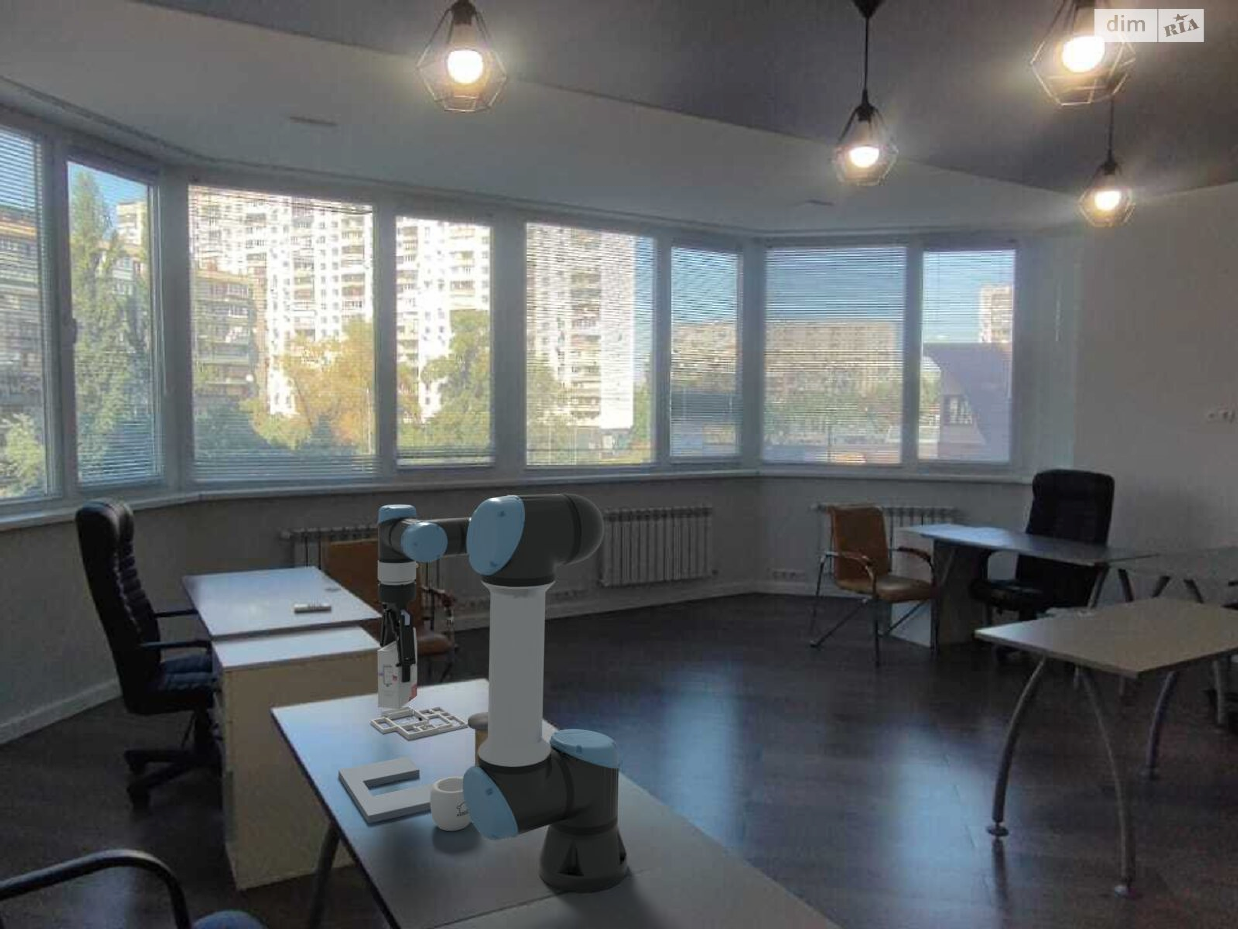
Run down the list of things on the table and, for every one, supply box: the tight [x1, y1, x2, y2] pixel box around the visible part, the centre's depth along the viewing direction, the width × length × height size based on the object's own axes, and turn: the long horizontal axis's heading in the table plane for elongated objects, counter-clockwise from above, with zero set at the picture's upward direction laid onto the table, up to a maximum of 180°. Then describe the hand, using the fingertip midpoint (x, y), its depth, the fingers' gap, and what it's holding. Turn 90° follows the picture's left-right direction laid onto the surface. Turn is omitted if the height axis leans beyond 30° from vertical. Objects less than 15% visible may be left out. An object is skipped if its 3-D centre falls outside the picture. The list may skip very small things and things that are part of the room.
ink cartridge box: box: [376, 627, 418, 709], centre depth 176 cm, size 9×5×15 cm, turn 168°
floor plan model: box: [370, 705, 469, 741], centre depth 213 cm, size 19×25×2 cm
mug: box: [430, 776, 472, 832], centre depth 163 cm, size 12×8×8 cm
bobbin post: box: [467, 711, 488, 766], centre depth 178 cm, size 10×10×14 cm
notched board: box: [338, 756, 434, 824], centre depth 176 cm, size 24×15×2 cm, turn 31°
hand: (397, 690), depth 176 cm, fingers closed on ink cartridge box, 9 cm apart
